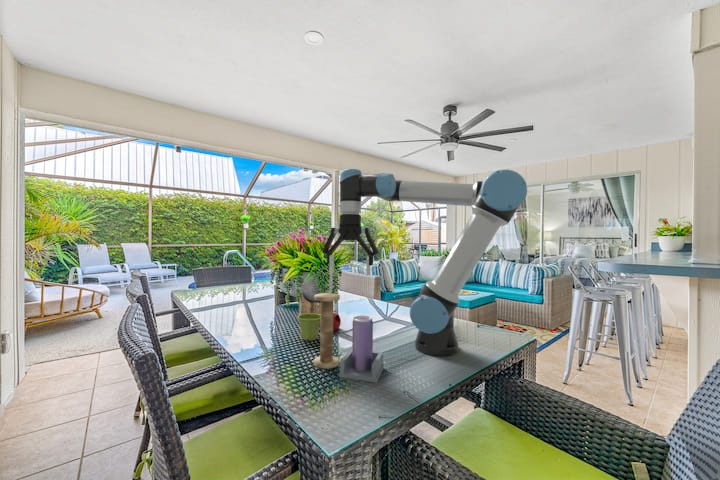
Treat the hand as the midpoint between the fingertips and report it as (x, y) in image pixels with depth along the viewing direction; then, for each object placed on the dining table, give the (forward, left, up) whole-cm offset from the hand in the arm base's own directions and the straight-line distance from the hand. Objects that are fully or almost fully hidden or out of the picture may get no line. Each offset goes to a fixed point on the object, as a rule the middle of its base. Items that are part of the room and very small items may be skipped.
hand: (349, 274), depth 110 cm
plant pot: (+18, -6, -27) cm, 33 cm away
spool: (+3, +14, -27) cm, 30 cm away
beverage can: (-10, +17, -26) cm, 32 cm away
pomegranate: (+15, -19, -27) cm, 36 cm away
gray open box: (-10, +17, -27) cm, 33 cm away
